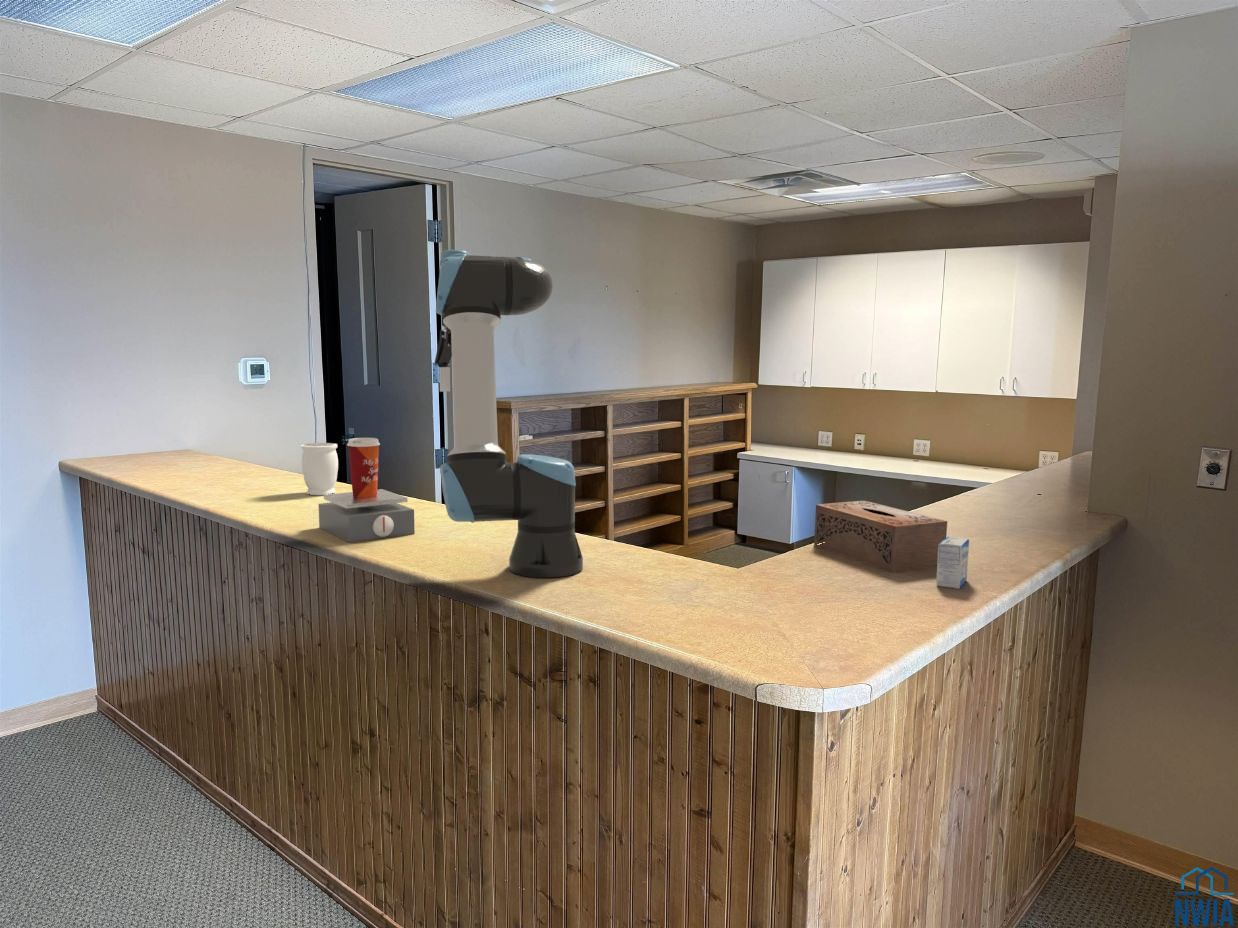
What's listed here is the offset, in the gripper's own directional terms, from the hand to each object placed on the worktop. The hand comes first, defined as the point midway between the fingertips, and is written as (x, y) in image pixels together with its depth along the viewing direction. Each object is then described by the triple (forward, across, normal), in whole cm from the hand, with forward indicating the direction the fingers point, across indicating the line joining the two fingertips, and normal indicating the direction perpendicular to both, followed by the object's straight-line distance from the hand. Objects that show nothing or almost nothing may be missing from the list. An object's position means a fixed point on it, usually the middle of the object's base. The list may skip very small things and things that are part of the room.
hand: (457, 393), depth 222 cm
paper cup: (+24, -5, +28) cm, 37 cm away
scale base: (+33, -5, +28) cm, 43 cm away
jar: (+33, +52, +19) cm, 64 cm away
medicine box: (+33, -116, -47) cm, 129 cm away
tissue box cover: (+33, -94, -55) cm, 113 cm away
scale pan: (+26, -5, +28) cm, 39 cm away
